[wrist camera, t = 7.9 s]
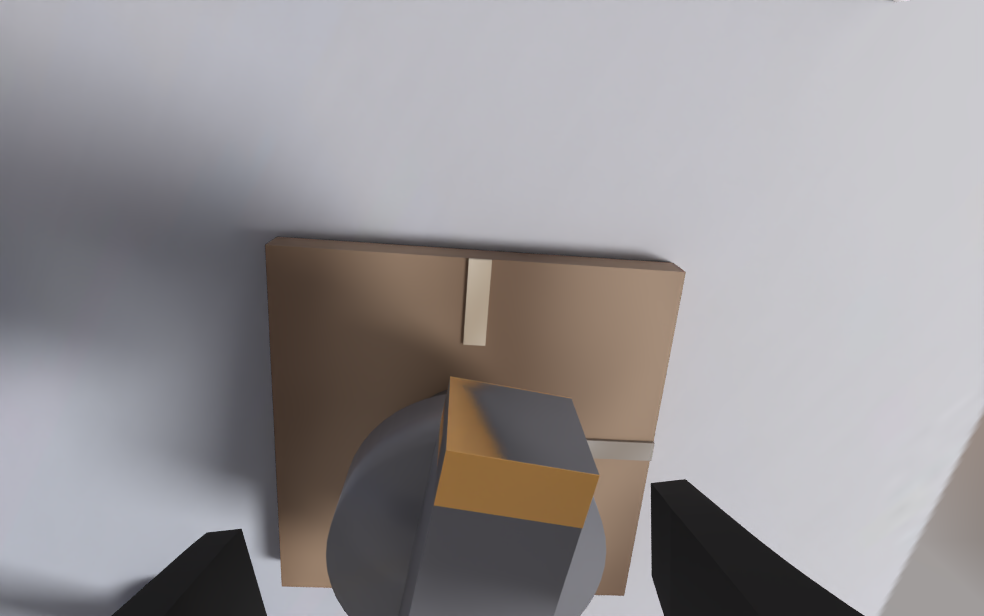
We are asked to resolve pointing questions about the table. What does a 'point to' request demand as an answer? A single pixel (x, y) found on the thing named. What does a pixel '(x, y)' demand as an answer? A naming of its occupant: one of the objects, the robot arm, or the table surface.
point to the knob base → (458, 364)
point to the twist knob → (470, 510)
